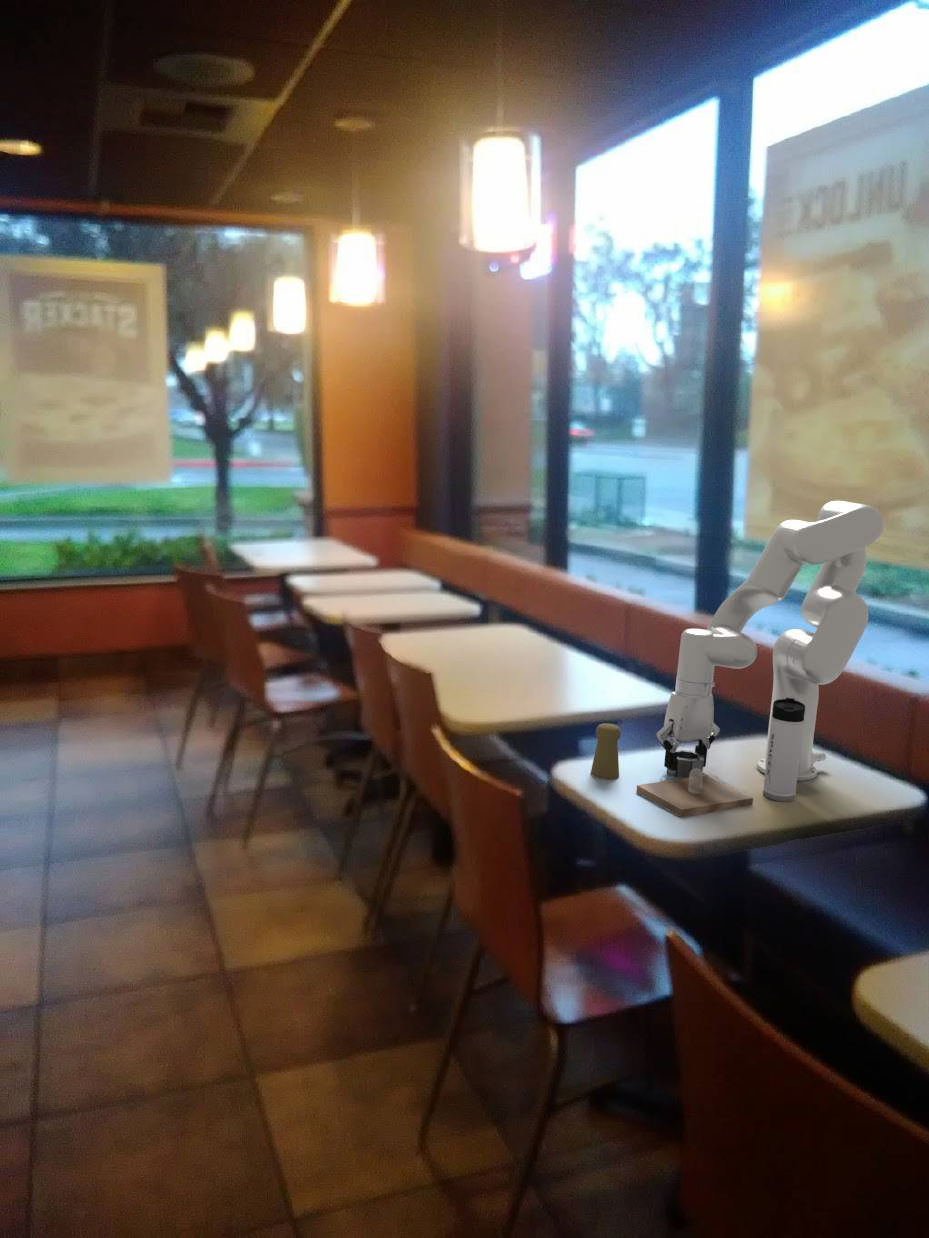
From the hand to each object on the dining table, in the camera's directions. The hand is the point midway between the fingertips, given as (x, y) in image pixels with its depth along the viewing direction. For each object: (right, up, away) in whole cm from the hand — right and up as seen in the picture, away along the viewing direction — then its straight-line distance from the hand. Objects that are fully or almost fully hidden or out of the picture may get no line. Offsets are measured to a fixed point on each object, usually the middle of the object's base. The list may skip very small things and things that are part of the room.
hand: (684, 766), depth 220 cm
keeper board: (-1, -4, -15) cm, 16 cm away
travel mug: (+17, -5, -11) cm, 21 cm away
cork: (-18, -1, -4) cm, 18 cm away
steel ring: (0, -1, 0) cm, 1 cm away
